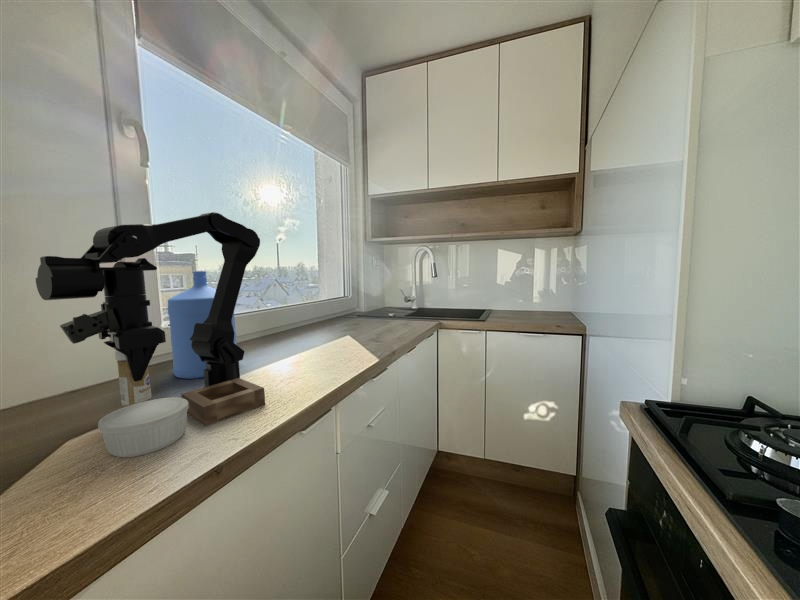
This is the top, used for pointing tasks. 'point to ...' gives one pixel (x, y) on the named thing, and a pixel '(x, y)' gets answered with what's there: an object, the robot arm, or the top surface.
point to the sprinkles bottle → (131, 383)
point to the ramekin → (144, 426)
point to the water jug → (190, 325)
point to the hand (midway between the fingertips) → (134, 378)
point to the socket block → (223, 400)
